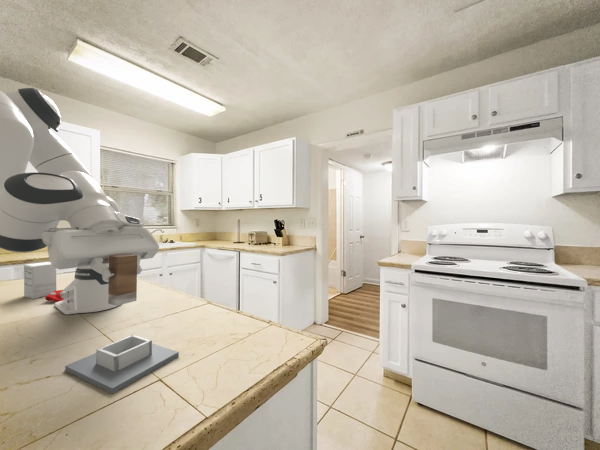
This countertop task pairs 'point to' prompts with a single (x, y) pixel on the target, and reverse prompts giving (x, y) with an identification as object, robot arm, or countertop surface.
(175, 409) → the countertop surface
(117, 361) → the grey socket base
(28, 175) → the robot arm
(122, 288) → the block
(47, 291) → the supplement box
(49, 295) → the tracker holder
